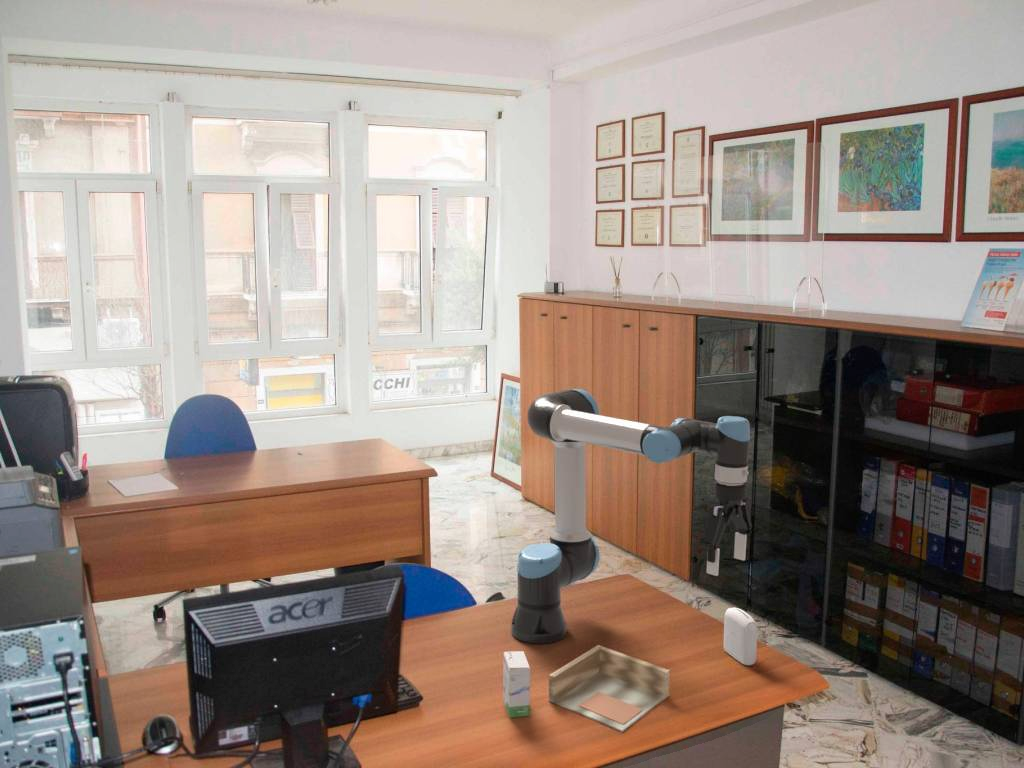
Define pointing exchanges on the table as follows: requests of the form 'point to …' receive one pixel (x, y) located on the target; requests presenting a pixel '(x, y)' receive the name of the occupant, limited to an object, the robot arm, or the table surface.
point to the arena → (609, 683)
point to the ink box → (516, 684)
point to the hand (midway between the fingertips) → (726, 566)
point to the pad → (610, 708)
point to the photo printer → (740, 636)
